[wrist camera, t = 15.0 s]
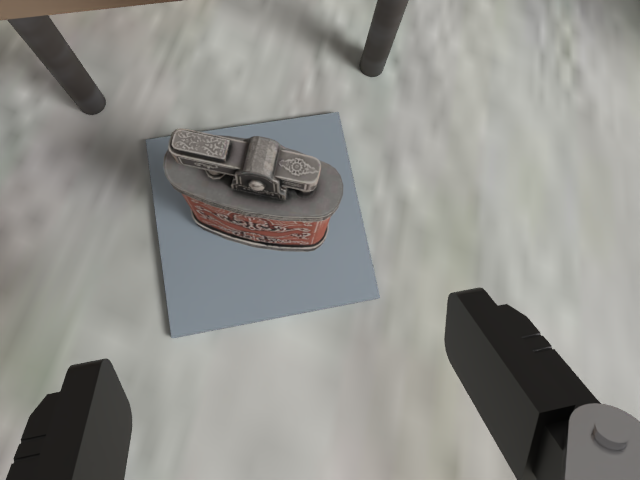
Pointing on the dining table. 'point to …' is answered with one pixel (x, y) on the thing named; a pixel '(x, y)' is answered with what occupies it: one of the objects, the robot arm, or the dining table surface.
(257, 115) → the dining table surface
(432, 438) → the dining table surface
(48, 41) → the miniature side table
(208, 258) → the pad
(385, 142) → the dining table surface
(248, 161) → the lighter
